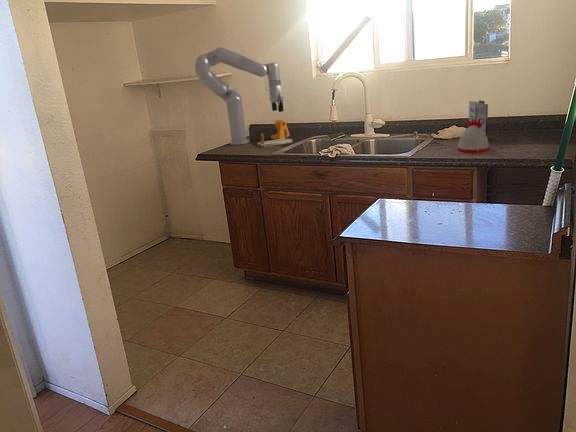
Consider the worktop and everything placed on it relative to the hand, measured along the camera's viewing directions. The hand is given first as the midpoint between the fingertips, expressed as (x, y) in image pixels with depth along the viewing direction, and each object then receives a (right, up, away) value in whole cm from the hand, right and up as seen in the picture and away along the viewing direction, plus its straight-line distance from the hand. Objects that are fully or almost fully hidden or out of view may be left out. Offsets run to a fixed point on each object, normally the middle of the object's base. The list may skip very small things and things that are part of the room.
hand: (277, 111), depth 310 cm
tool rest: (-1, -22, -10) cm, 25 cm away
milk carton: (+105, -27, -55) cm, 122 cm away
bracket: (+2, -17, +6) cm, 18 cm away
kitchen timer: (+95, -35, -76) cm, 127 cm away
